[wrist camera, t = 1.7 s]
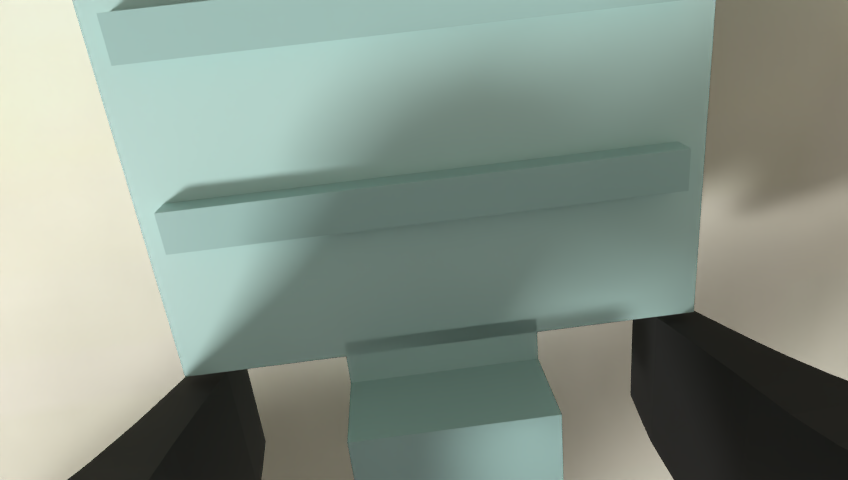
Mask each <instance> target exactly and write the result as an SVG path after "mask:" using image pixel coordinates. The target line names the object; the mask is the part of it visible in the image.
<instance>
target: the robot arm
mask: <svg viewBox="0 0 848 480" xmlns="http://www.w3.org/2000/svg"><path fill="white" fill-rule="evenodd" d="M631 397H632V399H633V401H634V404H635V406H636V409H637V411H638V413H639V416H640V418H641V420H642V423H643V425H644V427H645V429H646V431H647V434H648V436H649V438H650V440H651V442H652V444H653V446H654V447H655V449H656V451H657V452H658V454H659V456H660V457H661V459H662V461H663V462H664V464H665V466H666V467H667V469H668V471H669V472H670V474H671V476H672V477H673V479H674V480H848V381H847V380H844V379H842V378H839V377H836V376H834V375H831V374H829V373H826V372H824V371H821V370H819V369H817V368H814V367H812V366H810V365H807V364H805V363H803V362H800V361H798V360H796V359H793V358H791V357H789V356H786V355H784V354H782V353H780V352H778V351H775V350H773V349H771V348H769V347H767V346H765V345H762V344H760V343H758V342H756V341H754V340H752V339H750V338H748V337H746V336H744V335H742V334H740V333H738V332H736V331H733V330H731V329H729V328H727V327H725V326H723V325H721V324H719V323H717V322H715V321H713V320H711V319H709V318H707V317H705V316H703V315H701V314H699V313H697V312H695V311H694V312H689V313H681V314H673V315H665V316H657V317H650V318H642V319H634V320H633V329H632V363H631ZM264 451H265V438H264V434H263V430H262V426H261V422H260V418H259V414H258V410H257V406H256V402H255V398H254V394H253V390H252V386H251V382H250V378H249V375H248V371H247V369H243V370H235V371H227V372H219V373H211V374H203V375H196V376H188V377H185V378H184V379H183V380H182V381H181V382H180V383H179V384H178V385H177V386H175V387H174V388H173V389H172V390H171V391H170V392H169V393H168V394H167V395H166V396H165V397H164V398H163V399H162V400H160V401H159V402H158V403H157V404H156V405H155V406H154V407H153V408H152V409H151V410H150V411H149V412H147V413H146V414H145V415H144V416H143V417H142V418H141V419H140V420H139V421H138V422H137V423H135V424H134V425H133V426H132V427H131V428H130V429H129V430H127V431H126V432H125V433H124V434H123V435H121V436H120V437H119V438H118V439H117V440H116V441H114V442H113V443H112V444H111V445H110V446H108V447H107V448H106V449H105V450H104V451H103V452H101V453H100V454H99V455H98V456H97V457H96V458H94V459H93V460H92V461H91V462H90V463H88V464H87V465H86V466H85V467H83V468H82V469H81V470H79V471H78V472H77V473H76V474H74V475H73V476H72V477H70V478H69V479H68V480H261V477H262V469H263V460H264Z"/></svg>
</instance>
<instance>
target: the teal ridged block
mask: <svg viewBox="0 0 848 480" xmlns="http://www.w3.org/2000/svg"><path fill="white" fill-rule="evenodd" d="M72 1H73V5H74V8H75V11H76V15H77V18H78V21H79V25H80V28H81V31H82V35H83V38H84V41H85V45H86V48H87V51H88V55H89V58H90V61H91V65H92V68H93V71H94V75H95V78H96V81H97V85H98V88H99V91H100V95H101V98H102V101H103V105H104V108H105V111H106V115H107V118H108V121H109V125H110V128H111V131H112V135H113V138H114V141H115V145H116V148H117V151H118V155H119V158H120V161H121V165H122V168H123V171H124V175H125V178H126V181H127V185H128V188H129V191H130V195H131V198H132V201H133V205H134V208H135V211H136V215H137V218H138V221H139V225H140V228H141V231H142V235H143V238H144V241H145V245H146V248H147V251H148V255H149V258H150V261H151V265H152V268H153V271H154V275H155V278H156V281H157V285H158V288H159V291H160V295H161V298H162V301H163V305H164V308H165V311H166V315H167V318H168V321H169V325H170V328H171V331H172V335H173V338H174V341H175V345H176V348H177V351H178V355H179V358H180V361H181V365H182V368H183V371H184V375H185V377H188V376H196V375H203V374H211V373H219V372H227V371H235V370H243V369H250V368H258V367H266V366H274V365H282V364H290V363H297V362H305V361H313V360H321V359H329V358H337V357H344V356H346V357H347V363H348V369H349V374H350V380H351V392H350V409H349V425H348V442H347V443H348V448H349V454H350V459H351V464H352V469H353V475H354V480H563V445H562V414H561V412H560V409H559V407H558V405H557V402H556V400H555V398H554V395H553V393H552V390H551V388H550V386H549V383H548V381H547V379H546V376H545V374H544V372H543V369H542V367H541V365H540V362H539V360H538V346H537V332H540V331H548V330H556V329H564V328H571V327H579V326H587V325H595V324H603V323H610V322H618V321H626V320H634V319H642V318H650V317H657V316H665V315H673V314H681V313H689V312H694V300H695V286H696V272H697V258H698V244H699V230H700V215H701V201H702V187H703V173H704V159H705V145H706V131H707V117H708V103H709V89H710V75H711V61H712V47H713V33H714V19H715V5H716V0H72Z"/></svg>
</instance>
